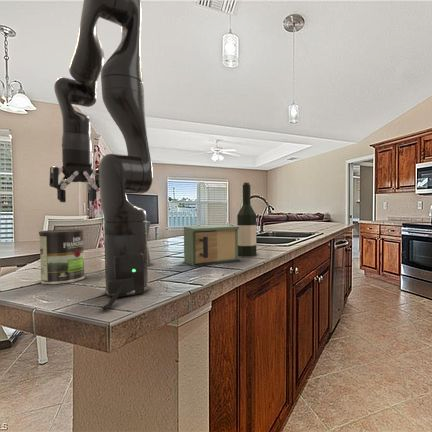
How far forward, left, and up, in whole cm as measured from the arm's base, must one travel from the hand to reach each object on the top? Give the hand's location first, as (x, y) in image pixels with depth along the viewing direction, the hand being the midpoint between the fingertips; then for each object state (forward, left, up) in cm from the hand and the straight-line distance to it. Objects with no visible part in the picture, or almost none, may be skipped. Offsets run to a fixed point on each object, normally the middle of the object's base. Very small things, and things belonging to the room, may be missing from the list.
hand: (77, 201), depth 100 cm
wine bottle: (0, -59, -23) cm, 63 cm away
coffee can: (-9, +4, -23) cm, 25 cm away
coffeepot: (+3, -17, -23) cm, 28 cm away
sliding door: (-14, -37, -21) cm, 45 cm away
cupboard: (-6, -41, -22) cm, 47 cm away
